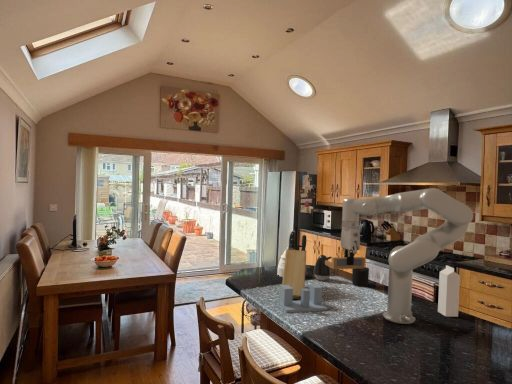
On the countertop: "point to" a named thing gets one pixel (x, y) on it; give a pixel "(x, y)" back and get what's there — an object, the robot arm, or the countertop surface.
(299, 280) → the knife block
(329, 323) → the countertop surface
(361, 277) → the pen holder
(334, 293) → the countertop surface
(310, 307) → the gray blocky stand
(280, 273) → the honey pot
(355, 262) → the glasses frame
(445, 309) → the milk
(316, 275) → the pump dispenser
